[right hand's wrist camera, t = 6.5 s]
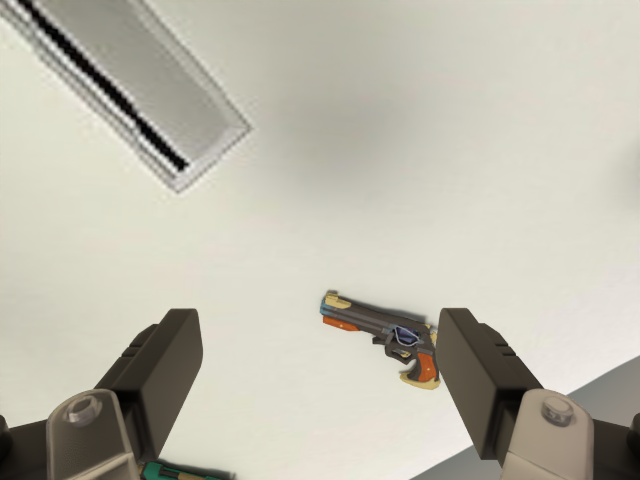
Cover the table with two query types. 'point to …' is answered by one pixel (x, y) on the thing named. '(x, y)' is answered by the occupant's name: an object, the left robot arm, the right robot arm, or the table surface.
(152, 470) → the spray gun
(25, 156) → the table surface
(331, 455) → the table surface
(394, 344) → the toy gun
